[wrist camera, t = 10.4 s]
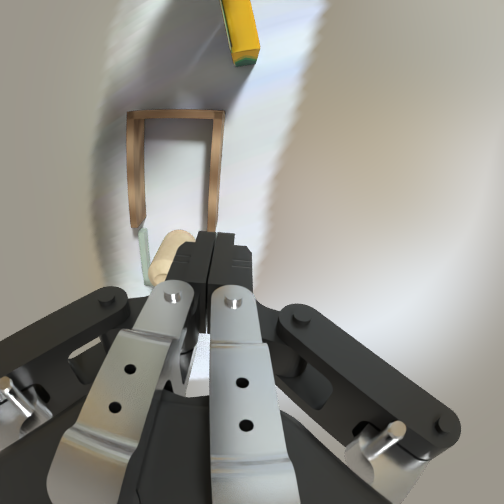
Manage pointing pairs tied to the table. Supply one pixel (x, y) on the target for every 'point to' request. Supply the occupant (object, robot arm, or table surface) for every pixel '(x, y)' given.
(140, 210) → the cubby
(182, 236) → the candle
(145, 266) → the mint green u-bracket
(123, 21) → the table surface
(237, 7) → the crayon box
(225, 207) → the table surface
